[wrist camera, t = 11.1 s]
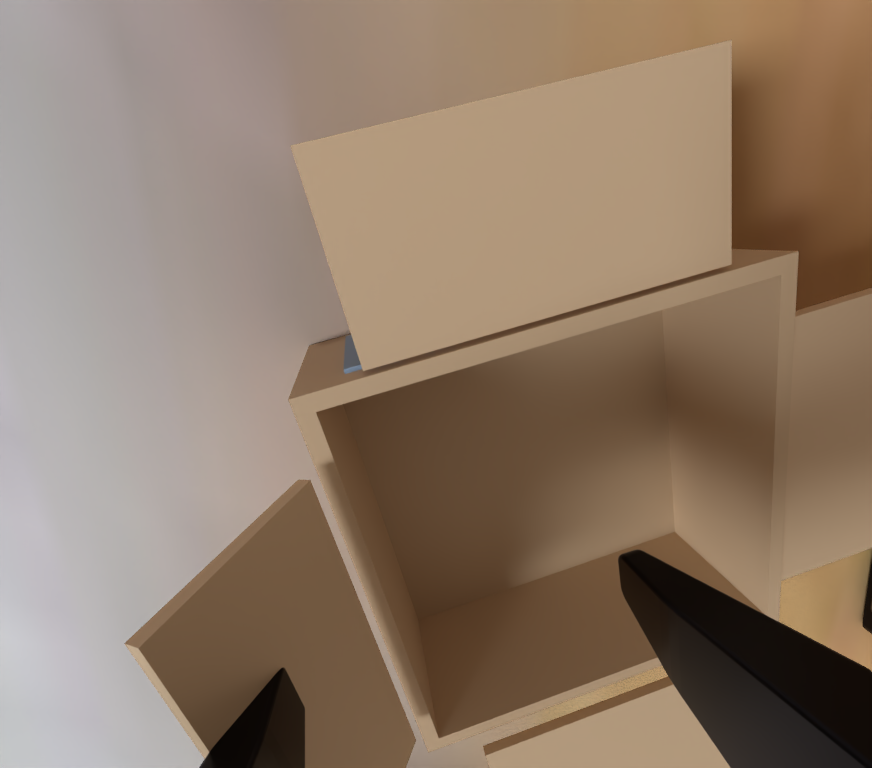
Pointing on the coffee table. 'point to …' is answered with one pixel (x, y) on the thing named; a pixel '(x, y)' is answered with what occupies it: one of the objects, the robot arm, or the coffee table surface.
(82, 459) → the coffee table surface
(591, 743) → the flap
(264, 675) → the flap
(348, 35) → the coffee table surface
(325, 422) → the carton
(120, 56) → the coffee table surface
